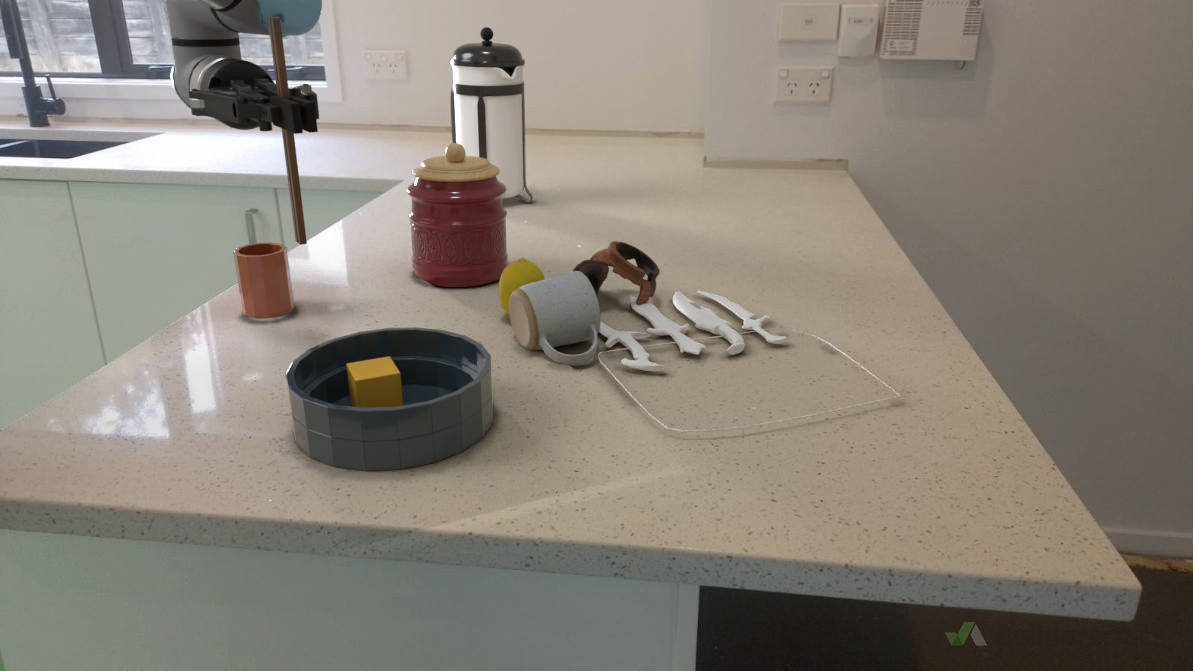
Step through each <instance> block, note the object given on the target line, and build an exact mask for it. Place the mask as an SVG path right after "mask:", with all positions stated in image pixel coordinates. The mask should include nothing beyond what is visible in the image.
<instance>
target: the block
mask: <svg viewBox="0 0 1193 671" xmlns="http://www.w3.org/2000/svg"><path fill="white" fill-rule="evenodd" d="M346 366H347V375H348V385H349V394H350V402H351V404H352V406H353V407H359V408H373V407H397V406H403V398H402V386H401V374H400V372H399V370H398V368H397V367H396V365H395V364H394V362H393V361H392V359H391V358H390V357H383V358H377V359H371V360H365V361H359V362H353V363H347V364H346Z"/></svg>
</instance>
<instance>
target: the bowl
mask: <svg viewBox="0 0 1193 671" xmlns="http://www.w3.org/2000/svg"><path fill="white" fill-rule="evenodd" d="M383 357H390V358H391V359H392V361H393V362H394V364H395V365H396V367H397V368H398V370H399V372H400V374H401V386H402V398H403V406H397V407H373V408H359V407H353V406H352V404H351V402H350V394H349V385H348V375H347V366H346V364H347V363H353V362H359V361H365V360H371V359H377V358H383ZM492 370H493V369H492V355H491V354H490V353H489V351H488V350H487V349H486V347H485V346H484V345H483V343H481V342H479V341H476V340H475V339H473V338H470V337H469V336H467V335H464V334H461V333H456V332H452V331H448V330H446V329H439V328H438V329H437V328H429V327H427V328H426V327H415V326H414V327H386V328H385V327H383V328H378V329H370V330H363V331H358V332H354V333H349V334H346V335H342V336H339V337H335V338H331V339H329V340H326V341H324V342H322V343H319V344H317V345H315V346H313V347H310V348H308V349H307V350H306V351H304V352H303V353H301V354H300V355H299V356H298V357H296V358H295V359H293V360H292V362H291V364H290V365H289V367H288V369H287V371H286V372H285V381H286V389H287V396H288V402H289V411H290V418H291V425H292V426H291V427H292V431H293V435H294V440H295V444H296V446H297V447H298V448H299V449H301V450H302V452H304V453H305V454H306V455H307V456H308V457H310V458H311V459H313V460H316V461H319V462H321V463H324V464H327V465H329V466H332V467H335V468H341V469H348V470H357V471H362V472H363V471H364V472H371V471H372V472H373V471H396V470H407V469H410V468H416V467H420V466H426V465H430V464H435V463H438V462H439V461H442V460H444V459H447V458H450V457H452V456H455V455H458V454H460V453H462V452H464V451H465V450H467V449H469V448H470V447H472V446H473V445H474V444H476V443H477V442H479V441H480V440H481V439H483V438H484V436H485V435H486V433H487V432H488V430H489V429H490V427H491V426H492V424H494V423H493V422H494V401H493V400H494V398H493V373H492V372H493V371H492Z"/></svg>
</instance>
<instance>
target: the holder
mask: <svg viewBox="0 0 1193 671" xmlns="http://www.w3.org/2000/svg"><path fill="white" fill-rule="evenodd" d="M287 248H288V247H287V246H285V244H283V243H277V242H256V243H248V244H244V245H242V246H239V247H236V248H235V249H234V250H233V252H232V253H233V254H232V255H233V259H234V265H235V272H236V273H235V274H236V278H237V284H238V285H237V286H238V292H239V298H240V303H241V311H242V313H243V315H244V316H246V317H248V318H252V319H270V318H271V319H272V318H277V317H281V316H284V315H287V314H289V313H291V312H292V311H293V310H294V308H295V301H294V292H293V285H292V277H291V270H290V263H289V255H288V254H289V253H288V249H287Z"/></svg>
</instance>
